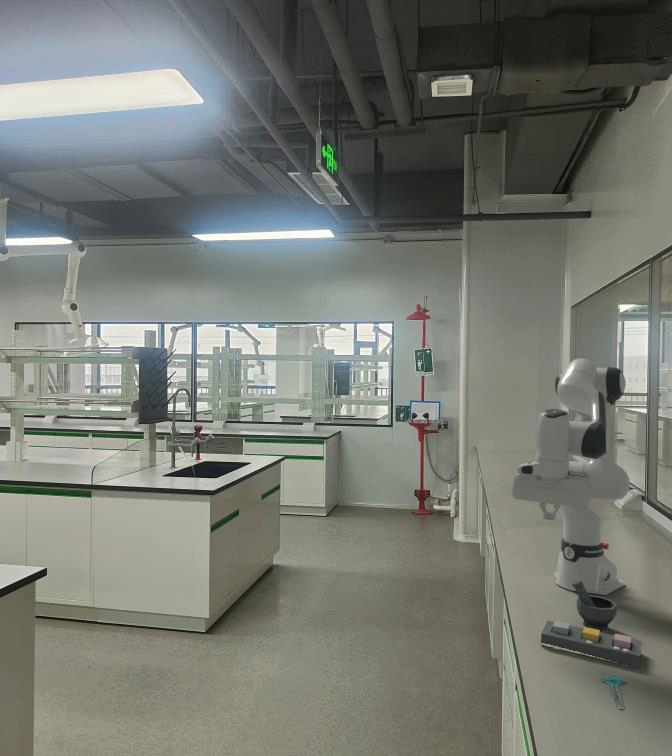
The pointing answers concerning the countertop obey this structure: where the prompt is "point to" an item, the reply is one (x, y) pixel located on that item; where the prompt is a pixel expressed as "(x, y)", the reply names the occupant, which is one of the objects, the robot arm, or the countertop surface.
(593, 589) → the robot arm
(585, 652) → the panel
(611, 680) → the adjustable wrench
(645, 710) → the countertop surface
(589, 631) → the button one
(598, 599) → the mortar and pestle
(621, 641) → the button two
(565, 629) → the button none
